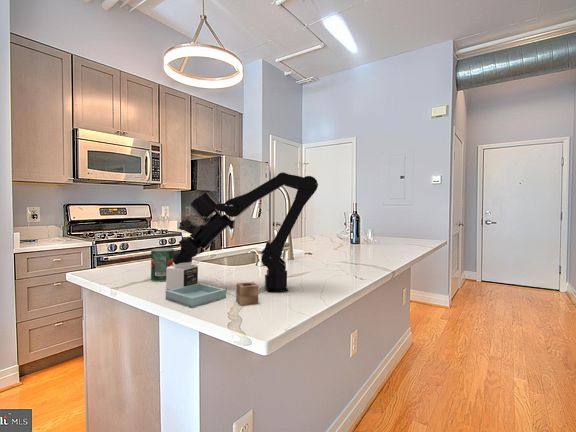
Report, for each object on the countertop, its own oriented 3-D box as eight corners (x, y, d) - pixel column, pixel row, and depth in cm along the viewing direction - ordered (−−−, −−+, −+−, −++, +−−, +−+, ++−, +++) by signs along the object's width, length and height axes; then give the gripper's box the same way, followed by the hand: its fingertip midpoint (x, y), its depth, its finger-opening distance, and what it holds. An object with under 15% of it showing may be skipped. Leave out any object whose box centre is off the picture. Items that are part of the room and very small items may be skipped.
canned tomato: (148, 278, 114) (148, 248, 114) (170, 276, 119) (170, 247, 119) (153, 282, 108) (154, 251, 107) (176, 280, 112) (177, 249, 112)
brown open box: (252, 298, 91) (253, 281, 91) (258, 303, 86) (258, 285, 86) (236, 300, 89) (236, 283, 89) (240, 305, 84) (240, 287, 84)
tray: (199, 290, 99) (200, 283, 99) (226, 297, 92) (226, 289, 91) (165, 299, 89) (165, 290, 89) (191, 307, 82) (192, 298, 82)
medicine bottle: (183, 291, 97) (184, 253, 97) (165, 289, 100) (166, 252, 99) (198, 286, 104) (198, 250, 103) (180, 284, 106) (180, 249, 106)
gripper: (202, 210, 110) (171, 241, 110) (186, 211, 92) (148, 247, 92) (224, 233, 111) (193, 263, 111) (212, 238, 92) (174, 274, 92)
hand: (178, 261), depth 101 cm, fingers closed on medicine bottle, 6 cm apart
